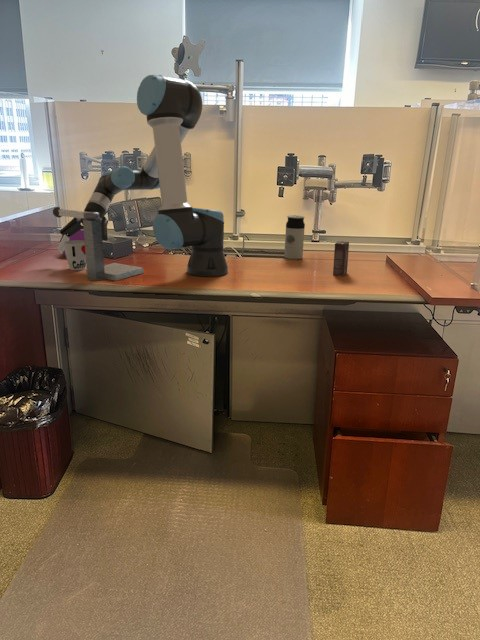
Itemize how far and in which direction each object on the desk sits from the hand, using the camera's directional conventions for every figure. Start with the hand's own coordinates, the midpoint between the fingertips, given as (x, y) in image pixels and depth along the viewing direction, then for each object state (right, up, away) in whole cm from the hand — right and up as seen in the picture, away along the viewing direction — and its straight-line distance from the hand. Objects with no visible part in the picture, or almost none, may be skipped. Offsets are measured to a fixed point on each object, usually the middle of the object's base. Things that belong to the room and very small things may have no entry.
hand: (74, 252), depth 170 cm
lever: (+6, +9, -15) cm, 18 cm away
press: (+15, -9, -6) cm, 19 cm away
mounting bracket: (-8, +3, +27) cm, 28 cm away
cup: (+1, -6, +2) cm, 6 cm away
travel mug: (+84, +2, +32) cm, 90 cm away
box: (+99, -8, +5) cm, 99 cm away
